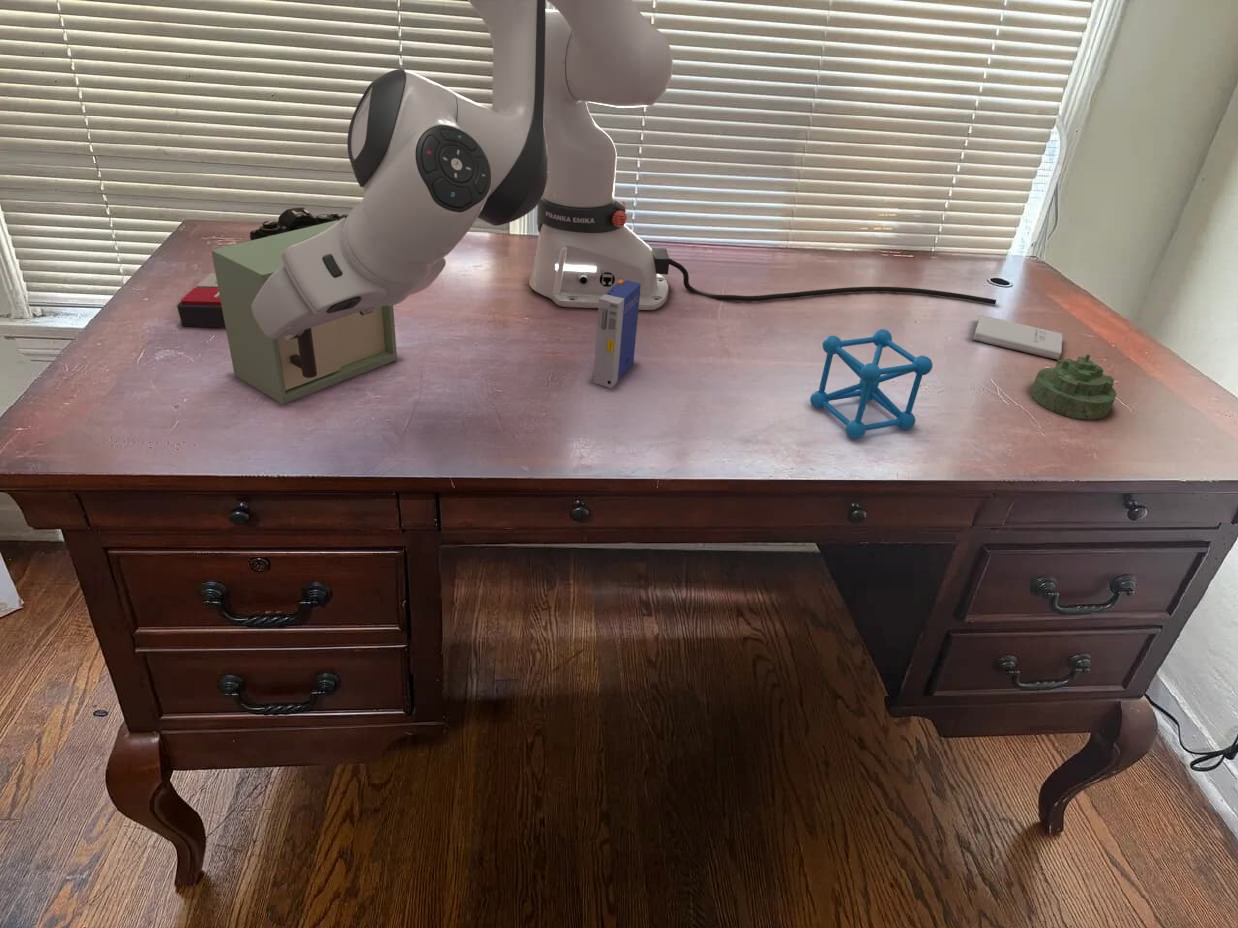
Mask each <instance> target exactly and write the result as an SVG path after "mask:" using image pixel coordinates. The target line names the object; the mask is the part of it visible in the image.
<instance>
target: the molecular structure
mask: <svg viewBox="0 0 1238 928" xmlns="http://www.w3.org/2000/svg"><path fill="white" fill-rule="evenodd" d="M891 333H892V332H890V331H889V330H887V329H884V328H882V329H878V330H876V331H875V332H874V333H873V335H872V336H869V337H860V338H853V339H847V340H846V339H845V340H841V338H839V336H836V335H829V336H827V337H825V338H824V340H823V341H822V350H823V351H824V352H825V353H826V356H825V357H826V358H825V362H824V366H823V369H822V370H823V371H822V373H821V378H820V383H819V387H818V390H815V391H814V392H813V393H812V394H811V396H810V399H809V401H810V404H811V406H812V407H813V408H815V409H817V410H818V409H821V410H822V409H826V411H828V412H829V413H830V414H832V415H833V416H834V417H835V418H836V419H837V420H839V421H840V422H841V423H842V424H844V425H845V433H846V435H847V437H849V438H850V439H852V440H858V439H861V438H863V436H864V435H865V434H866V432H867V431H871V430H872V431H873V430H877V429H882V428H888V427H895V426H897V427H898V428H899V429H901V430H903V431H908V430H910V429H912V428H914V426H915V424H916V417H915V414H913V413H912V412H913V408H914V405H915V403H916V398H917V395H918V391H919V389H920V385H921V382H922V379H923V376H926V375H928V374H929V373H931V371H932V369H933V361H932V359H931V358H930V357H929V356H927V355H920V356H917V357H916V356H914V355H913V354H912V353H911V352H909V351H907V350H906V349H904V348H902V347H901V346H899V345H898V344H897V343H895V342H893V340H892V339H893V336H892V334H891ZM865 344H874V346H875V347H876V348H875V351H874V355H873V358H872V362H869V363H866V364H864V363H863V362H861V361H860V360H858V359H857V358H856V357H854V356H853V355H852V354H850V353H849V352H847V351H846V350H845V349H843V347H851V346H858V345H865ZM887 347H889V349H891V350H893V351H894V352H896V353H897V354H899V355H901V356H902V357H903V358H905V359H906V360H908V361H909V362H910V364H903V365H895V366H890V367H883V368H881V367H879V364H880V360H881V356H882V352H883V349H884V348H887ZM834 355H837V356H838V357H839V358H840V359H841V361H842V362H844V363H845V364H846V365H847V366H848V367H849V369H851V371H852V372H853V373H855V375H857V377H858V378H859V383H856V384H853V385H850V386H847V387H844V388H841V389H838V390H834V391H831V392H828V393H827V392H826V387H827V382H828V379H829V378H828V377H829V375H830V369H831V365H832V361H833V357H834ZM911 373H914V374H915V378H914V380H913V383H912V387H911V390H910V394H909V396H908V397H909V398H908V401H907V404H906V407H905V410H904V411H901V410H900V409H899V408H898V407H897V406H896V405H895V404H894V403H893V401H892V400H890V398H889V397H888V396H887V395H886V394H885V393H884V392H883V391H882V390H881V389H880V388H879V386H880V383H883V382H887V381H889V380H892V379H895V378H898V377H902V376H905V375H908V374H911ZM856 397H860V399H859V402H858V406H857V411H856V414H855V418H854V419H852V420H850V419H848V418H847V417H846V416H845V415H843V413H841V412H840V411H839V410H837V408H835V407H834V406H833V405H832V404H830V402H831V401H838V400H843V399H850V398H856ZM868 401H869V402H870V401H875V402H876V403H877V404H878V405H880V406H881V407H882V408H884V409H885V410H886V411H887V412H889V413H890V414H891V415H893V416H894V417H895V419H891V420H885V421H884V420H883V421H879V422H873V423H867V424H865V423H864V422H863V421H862V420H863V418H864V413H865V411H866V410H865V409H866V406H867V403H868Z"/></svg>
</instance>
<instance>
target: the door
mask: <svg viewBox="0 0 1238 928" xmlns="http://www.w3.org/2000/svg"><path fill="white" fill-rule="evenodd" d="M277 342H278V348H279V355H280V361H281V368H282V374H283V381H284V387H285V391H286V390H289V389H291V388H294V387H297V386H299V385H302V384H305V383H307V382H310V381H312V380H315V379H318V378H320V377H323V376H326V375H328V374H331V373H334V372H336V371H339V370H341V362H340V353H339V344H338V335H337V326H336V320H333V321H330V322H327V323H324V324H321V325H318V326H315V327H312V328H309V329H306V330H305V331H304V332H303V334H301V336H300V337H297V338H295V339H291V340H288V341H287V340H286V339H285V338H284V337H282V338H279V339H277Z"/></svg>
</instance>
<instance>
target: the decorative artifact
mask: <svg viewBox="0 0 1238 928" xmlns="http://www.w3.org/2000/svg"><path fill="white" fill-rule="evenodd" d="M1090 357H1091V354H1088V353H1087V354H1085V356H1078V357H1077V359H1076V360H1073V359H1072V358H1066V359H1059V360H1056V364H1055V366H1054V367H1045V368H1042V369H1040V370H1039V371H1038V372H1037V374H1036V376H1035V379H1034V381H1033V384H1032V387H1031V389H1030V395H1031V397H1032V398H1033V400H1035V401H1036V402H1037V403H1038V404H1039V405H1040V406H1042V407H1044V408H1045V409H1047V410H1049V411H1052V412H1054V413H1056V414H1059V415H1061V416H1064V417H1068V418H1074V419H1078V420H1079V419H1080V420H1090V421H1093V420H1100V419H1103V418H1105V417H1107V416H1109V413H1110V411H1111V408H1112V407H1113V404H1114V402H1115V400H1116V397H1117V391H1116V390H1115V388H1114V387H1113V386H1114V383H1115V380H1114V378H1113V376H1111V375H1105V373H1104V372H1105V371H1104V369H1103V367H1101V366H1100V365H1099V364H1098V363H1095V362H1094V361H1093V360H1091V359H1090Z"/></svg>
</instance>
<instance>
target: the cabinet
mask: <svg viewBox="0 0 1238 928" xmlns="http://www.w3.org/2000/svg"><path fill="white" fill-rule="evenodd" d="M337 221H338V220H336V221H332V222H328V223H323V224H319V225H315V226H311V227H306V228H302V229H298V230H294V231H290V232H285V233H281V234H277V235H273V236H268V237H264V238H260V239H256V240H251V239H250V240H247V241H243V242H239V243H234V244H230V245H226V246H223V247H218V248H214V249H211V250H210V252H211V257H212V262H213V268H214V274H216V279H217V284H218V290H219V295H220V300H221V305H222V311H223V316H224V321H225V327H224V328H225V333H226V337H227V342H228V347H229V352H230V358H231V364H232V368H233V374H234V376H235V377H236V378H238V379H239V380H241V381H243V382H244V383H246V384H247V385H249V386H251V387H253V388H255V389H256V390H257V391H259V392H262V393H263V394H264V395H266V396H267V397H269V398H271V399H273V400H275V401H276V402H278V403H280V404H281V405H286V404H287V403H290V402H292V401H296V400H298V399H301V398H303V397H306V396H308V395H311V394H314V393H316V392H318V391H321V390H324V389H326V388H328V387H332V386H334V385H336V384H339V383H341V382H345V381H346V380H349V379H352V378H354V377H357V376H359V375H363V374H365V373H367V372H370V371H373V370H375V369H377V368H380V367H383V366H385V365H387V364H391V363H394V362H395V361H397V360H398V355H397V353H398V352H397V341H396V339H397V338H396V325H395V324H396V323H395V311H394V305H392V306H379V307H378V308H377V309H376V310H375V311H374V312H372V313H369V314H366V315H361V314H360V313H359V312H357V313H354V314H351V315H348V316H345V317H342V318H339V319H336V326H337V335H338V344H339V353H340V362H341V370H339V371H336V372H334V373H331V374H328V375H326V376H323V377H320V378H318V379H315V380H312V381H310V382H307V383H305V384H302V385H299V386H297V387H294V388H291V389H289V390H286V391H285V387H284V381H283V374H282V368H281V361H280V355H279V348H278V342H277V339H275V340H273V339H270V338H268V337H267V336H266V335H265V334H264V333H263V331H262V330H261V328H260V327H259V325H258V323H257V322H256V320H255V318H254V316H253V313H252V310H251V307H252V303H253V301H254V299H255V297H256V296H257V294H258V292H259V291H260V289H261V288H262V286H263V285H264V283H265V282H266V281H267V279H268V278H269V277H270V276H271V275H272V274H273V273H274V272H275V271H276V270H277V269H279V268H280V267H282V266H283V265H284V263H283V261H282V259H281V255H282V254H283V252H284V251H285V250H286V249H287V248H288V247H290V246H292V245H294V244H296V243H298V242H300V241H303V240H305V239H307V238H310V237H312V236H314V235H316V234H318V233H321V232H323V231H324V230H326V229H328V228H329V227H331V226H332V225H333V224H335V223H336V222H337Z"/></svg>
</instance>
